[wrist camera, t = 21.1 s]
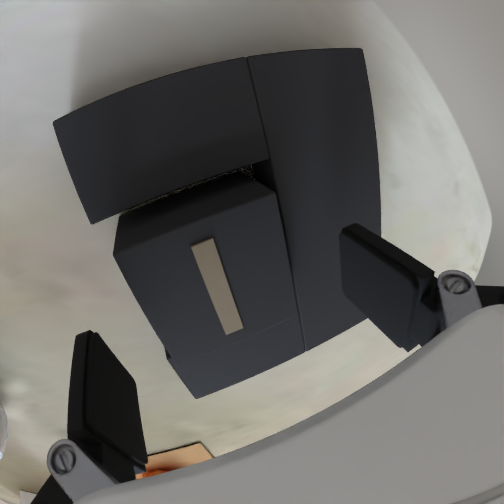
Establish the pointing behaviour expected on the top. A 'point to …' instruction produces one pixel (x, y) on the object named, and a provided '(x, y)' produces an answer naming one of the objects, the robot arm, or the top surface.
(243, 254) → the dark grey square block
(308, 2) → the top surface
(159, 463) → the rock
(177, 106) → the dark grey u-shaped block
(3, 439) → the plastic bottle
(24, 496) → the milk
